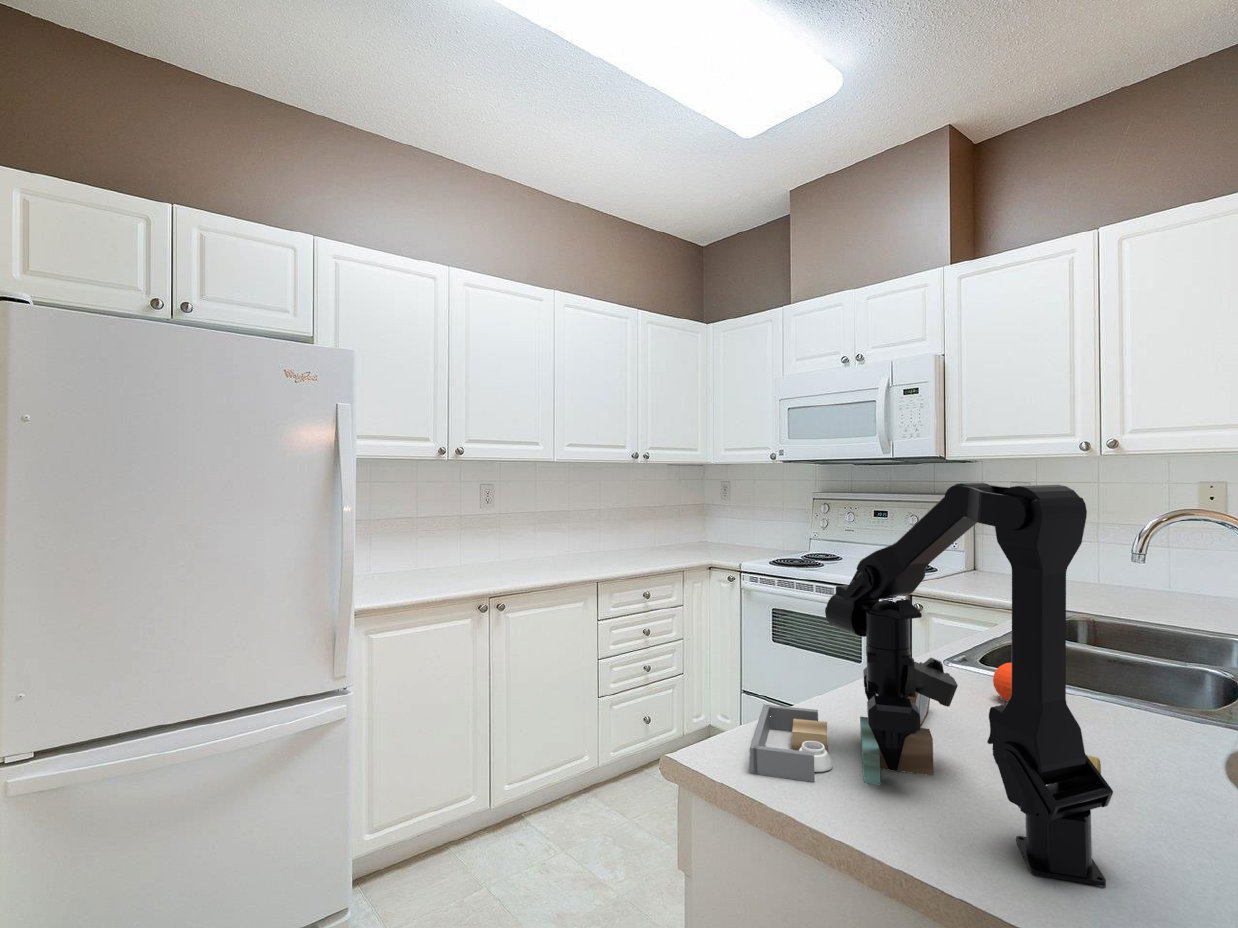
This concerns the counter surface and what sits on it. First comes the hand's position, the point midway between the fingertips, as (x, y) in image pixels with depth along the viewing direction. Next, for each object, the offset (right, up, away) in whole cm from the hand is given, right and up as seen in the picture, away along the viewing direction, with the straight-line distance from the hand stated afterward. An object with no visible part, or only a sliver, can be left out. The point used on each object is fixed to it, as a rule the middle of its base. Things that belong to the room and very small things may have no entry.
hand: (890, 755), depth 90 cm
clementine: (+32, -1, +22) cm, 39 cm away
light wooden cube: (-9, -2, +7) cm, 12 cm away
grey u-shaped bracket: (-13, -2, +5) cm, 14 cm away
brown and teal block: (+1, -1, 0) cm, 2 cm away
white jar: (-11, -2, 0) cm, 11 cm away
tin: (+10, -2, +14) cm, 18 cm away
